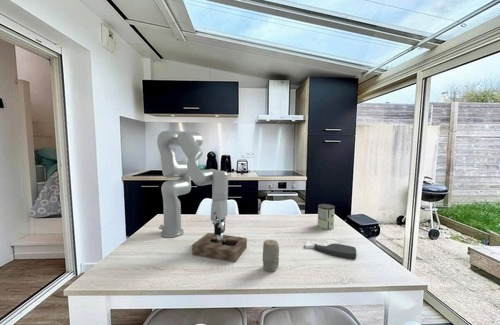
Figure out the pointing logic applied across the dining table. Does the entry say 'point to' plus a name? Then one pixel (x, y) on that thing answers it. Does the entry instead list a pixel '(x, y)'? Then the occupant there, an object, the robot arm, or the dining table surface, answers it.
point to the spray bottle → (334, 250)
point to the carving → (270, 255)
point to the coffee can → (326, 216)
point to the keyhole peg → (220, 237)
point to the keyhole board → (220, 247)
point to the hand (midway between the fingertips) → (219, 232)
